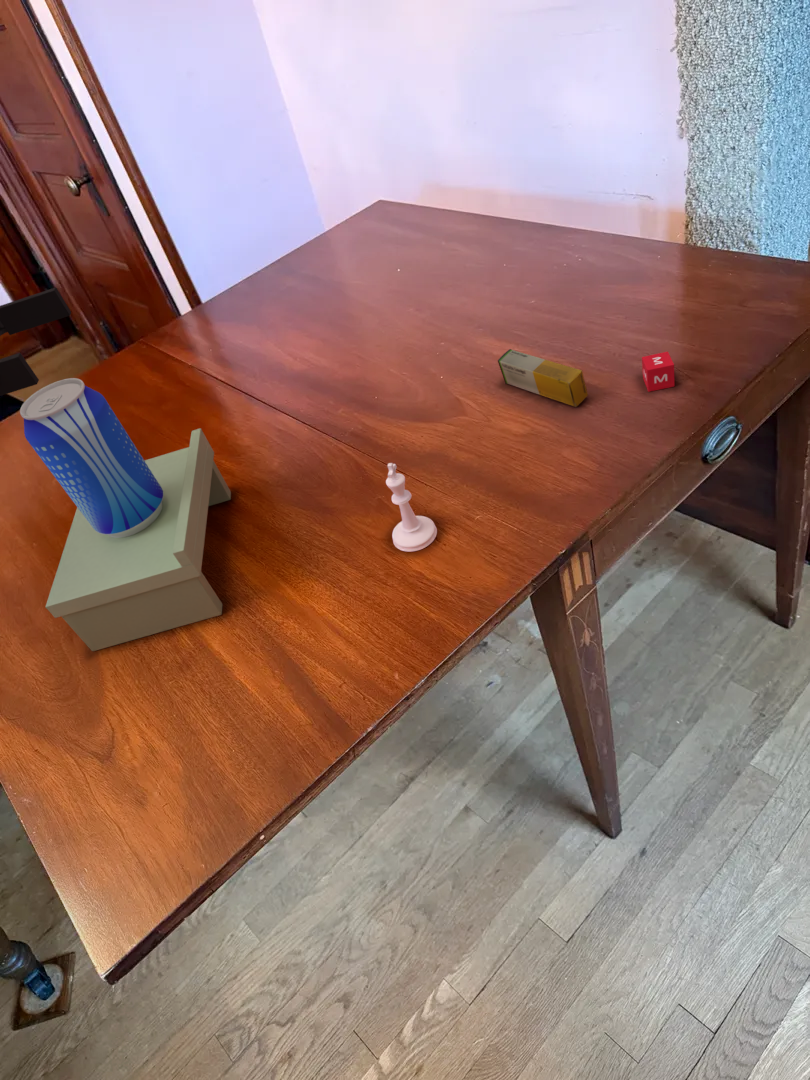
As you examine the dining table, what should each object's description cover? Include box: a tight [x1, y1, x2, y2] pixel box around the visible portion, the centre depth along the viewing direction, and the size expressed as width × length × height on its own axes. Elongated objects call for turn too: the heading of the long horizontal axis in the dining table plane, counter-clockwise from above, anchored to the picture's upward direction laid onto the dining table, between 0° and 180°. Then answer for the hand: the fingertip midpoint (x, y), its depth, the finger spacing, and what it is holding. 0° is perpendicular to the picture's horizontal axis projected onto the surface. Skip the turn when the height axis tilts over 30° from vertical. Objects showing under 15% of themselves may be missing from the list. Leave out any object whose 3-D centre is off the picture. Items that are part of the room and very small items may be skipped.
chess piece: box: [385, 462, 438, 553], centre depth 77 cm, size 5×5×10 cm
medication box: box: [497, 348, 589, 408], centre depth 92 cm, size 12×3×4 cm, turn 40°
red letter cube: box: [641, 351, 675, 392], centre depth 88 cm, size 3×3×3 cm
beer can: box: [19, 377, 163, 538], centre depth 78 cm, size 8×8×16 cm
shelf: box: [45, 427, 232, 652], centre depth 85 cm, size 16×22×10 cm
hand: (47, 332), depth 68 cm, fingers open, 13 cm apart
